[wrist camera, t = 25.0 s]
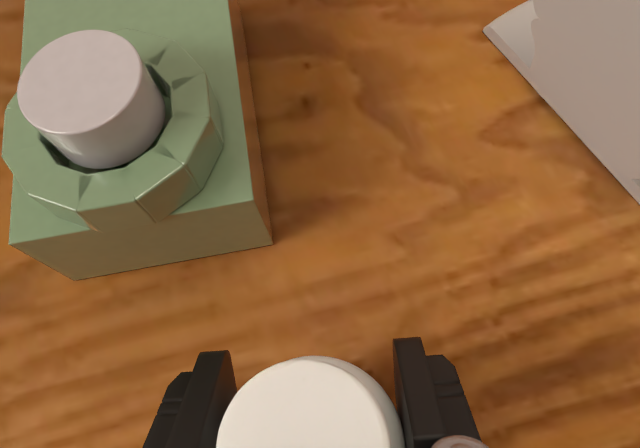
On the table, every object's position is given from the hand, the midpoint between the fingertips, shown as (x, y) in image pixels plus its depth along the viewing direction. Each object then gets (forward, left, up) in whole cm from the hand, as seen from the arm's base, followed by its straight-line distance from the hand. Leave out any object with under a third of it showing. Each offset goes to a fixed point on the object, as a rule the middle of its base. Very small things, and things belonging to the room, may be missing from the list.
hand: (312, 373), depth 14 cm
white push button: (+5, +9, +1) cm, 10 cm away
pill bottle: (-2, -1, -4) cm, 5 cm away
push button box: (+7, +10, -5) cm, 14 cm away
